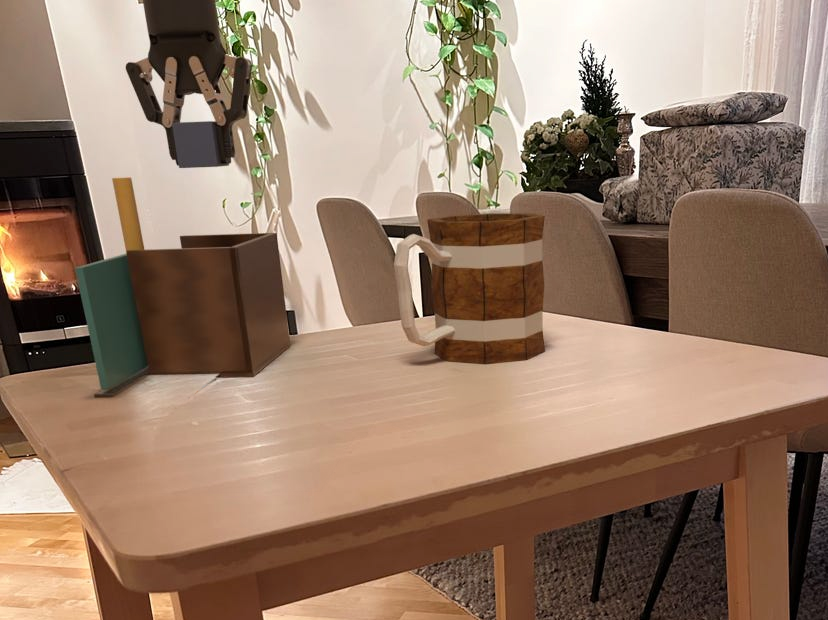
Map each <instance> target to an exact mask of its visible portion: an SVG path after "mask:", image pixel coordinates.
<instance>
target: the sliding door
mask: <svg viewBox="0 0 828 620" xmlns="http://www.w3.org/2000/svg"><path fill="white" fill-rule="evenodd" d="M111 180H112V181H111V182H112V185H113V190H114V195H115V201H116V207H117V212H118V216H119V221H120V222H119V223H120V227H121V232H122V237H123V243H124V247H125V252H126V251H127V250H145V245H144V240H143V234H142V227H141V223H140V217H139V212H138V207H137V202H136V196H135V190H134V185H133V179H132V177H131V176H129V177H128V176H127V177H126V176H125V177H112V178H111ZM74 271H75V275H76V279H77V283H78V284H77V285H78V289H79V293H80V298H81V303H82V308H83V313H84V316H85V320H86V326H87V330H88V335H89V339H90V344H91V349H92V353H93V358H94V363H95V368H96V372H97V376H98V381H99V386H100V391H101V390H108V389H110V388H112V387H114V386H115V385H117V384H119V383H120V382H122V381H124V380H126V379H127V378H129V377H131V376H132V375H134V374H136V373H138V372H139V371H141V370H143V369H144V368H146V367H148V363H147V358H146V353H145V347H144V342H143V337H142V332H141V327H140V321H139V316H138V311H137V306H136V300H135V295H134V290H133V285H132V280H131V274H130V269H129V264H128V259H127V254H126V253H122V254H119V255H116V256H112V257H108V258H105V259H101V260H98V261H94V262H91V263H87V264H84V265H80V266H76V267H74Z"/></svg>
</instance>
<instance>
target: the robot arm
mask: <svg viewBox="0 0 828 620" xmlns="http://www.w3.org/2000/svg"><path fill="white" fill-rule="evenodd" d="M142 5H143V10H144V11H143V12H144V16H145V23H146V29H147V34H148V39H149V49H148V52H147V57H145V58H144V59H140V60H138V61H132V62H131V61H129V62H127V63H126V64H125V71H126V73H127V76H128V79H129V81H130V83H131V85H132V88H133V91H134V93H135V95H136V97H137V100H138V102H139V104H140V107H141V109H142V111H143V114H144V116H145V119H146V120H147V121H148V122H150V123H155V124H157V125H161V126H162V127H163V129H164V130H165V135H166V140H167V148H168V153H169V157H170V158H171V160H172V161H175V164H176V166H177V167H179V165H178V158H177V152H176V146H175V140H174V134H173V128H172V123H178V122H181V119H182V118H181V117H182V110H183V107H184V104H185V97H186V96H190V95H193V94H198V95H202V96H203V98H204V101H205V103H206V104H207V105H208V107H209V109H210V111H211V114H212V116H213V119H214V121H216V123H217V126H218V127H215V129H216V136H217V143H218V150H219V157H220V162H221V164H229V165H230V164H232V158H233V159H234V158H235V155H236V148H235V141H234V132H233V125H234V124H235V123H236V122H238V121H240V120H243V119H245V118H246V117H247V115H248V107H249V98H250V89H251V79H252V72H253V63H252V61H251V60H250V59H249V58H246V57H243V56H238V57H236V56H234V55H230V54H228V53H227V50H226V49H225V48H224V46H223V43H222V40H221V31H220V26H219V18H218V10H217V3H216V0H142ZM226 67H227V68H228V74H229V77H230V78H232V89H231V99H230V107H229V108H228V106H227V103H226V98H225V96H224V94H223V91H222V89H221V85H220V84H219V81H220V79H221V77H222V75H223V72H224V70H225V68H226ZM153 70H154V71H155V73H156V74H157V75H158V76H159V78H160V79H161V80H162V81H163V83H164V84H163V85H164V86H163V94H162V103H163V109H162V107H161V106H160V103H159V100H158V99H157V96H156V93H155V90H154V88H153V86H152V84H151V83H152V81H153V74H152V73H153Z"/></svg>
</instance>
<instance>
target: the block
mask: <svg viewBox="0 0 828 620" xmlns="http://www.w3.org/2000/svg"><path fill="white" fill-rule="evenodd" d="M215 127H218V126H217V123H216V121H215V120H214V121H213V120H208V121H206V120H204V121H180V122H178V123H172V128H173V134H174V140H175V146H176V152H177V158H178V165H179V166H178V168H179V169H191V168H192V169H193V168H196V169H197V168H218V167H219V168H221V167H229V166H230V164H221V162H220V157H219V150H218V143H217V136H216V129H215Z"/></svg>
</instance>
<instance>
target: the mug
mask: <svg viewBox="0 0 828 620" xmlns="http://www.w3.org/2000/svg"><path fill="white" fill-rule="evenodd" d="M426 221H427V227H428V233H429V238H427V237H424V236H421V235H418V234H416V233H412V234H409V235H408V236H407V237H405V238H403V240H401V241H399V242H398V243H397V245H396V252H395V255H394V263H393V268H394V274H395V280H396V287H397V296H398V308H399V309H398V310H399V315H400V322H401V323H400V324H401V327H402V329H403V332H404V334H405V336H406V338H407V340H408V341H409V342H410V343H412V344H415V345H419V346H421V347H429V346H430V345H432V344H434V354H435V355H436V356H437V357H440V358H441V360H444V361H445V362H452V363H453V362H454V363H455V362H456V363H469V364H480V365H481V364H482V365H488V364H489V365H490V364H497V363H498V364H499V363H507V362H508V363H509V362H516V361H517V362H519V361H527V360H530V359H531V358H534V357H536V356H538V355H540V354H543V353H545V352H546V348H545V339H544V331H543V327H544V326H543V322H544V321H543V318H544V317H543V315H544V314H543V311H544V309H543V308H544V299H545V298H544V296H545V276H544V264H543V235H544V228H545V227H544V226H545V225H544V224H545V215H540V214H534V213H529V212H528V213H522V212H521V213H517V212H516V213H515V212H514V213H513V212H512V213H511V212H510V213H508V212H507V213H501V212H499V213H496V212H495V213H493V212H492V213H490V212H489V213H475V214H460V215H459V214H458V215H457V214H456V215H446V216H440V217H439V216H438V217H434V218H428V219H427V220H426ZM415 246H417V247H418V248H420V250H421V251H422V252H423V253H424V254H425V256H426V257H428V258H429V259H431V277H430V278H431V280H430V283H431V284H430V290H431V291H430V292H431V296H432V297H431V298H432V304H433V310H434V323H435V328H434V329H432V330H429V331H428V332H426V333H425V334H423V335H420V334H419V331H418V329H417V326H416V323H415V312H414V299H413V297H414V296H413V289H412V282H411V278H410V272H409V259H410V250H411V249H412V248H413V247H415Z"/></svg>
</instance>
